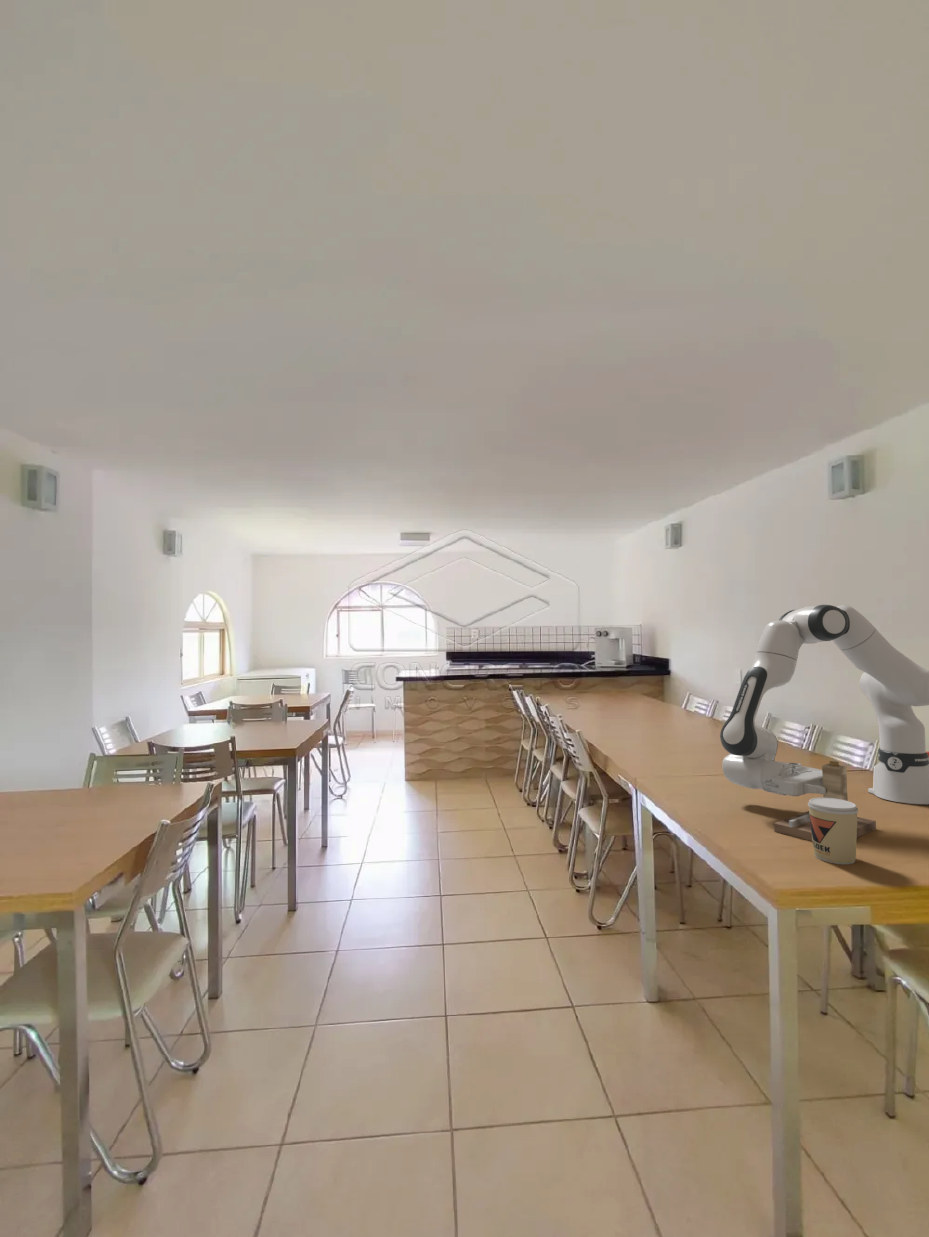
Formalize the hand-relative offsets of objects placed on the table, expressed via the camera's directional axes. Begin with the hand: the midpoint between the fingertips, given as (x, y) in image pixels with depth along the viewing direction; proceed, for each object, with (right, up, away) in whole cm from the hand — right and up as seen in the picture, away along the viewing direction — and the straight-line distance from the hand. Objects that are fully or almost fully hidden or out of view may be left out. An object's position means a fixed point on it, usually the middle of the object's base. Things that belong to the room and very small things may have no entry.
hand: (834, 788), depth 150 cm
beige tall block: (0, -7, -1) cm, 7 cm away
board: (-5, -9, -4) cm, 11 cm away
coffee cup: (-14, -9, -22) cm, 28 cm away
